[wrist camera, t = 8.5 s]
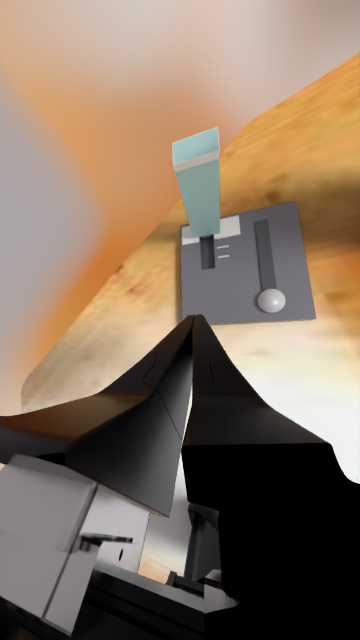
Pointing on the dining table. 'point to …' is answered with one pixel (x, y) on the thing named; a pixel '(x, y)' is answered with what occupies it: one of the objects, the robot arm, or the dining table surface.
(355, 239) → the dining table surface
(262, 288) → the console panel
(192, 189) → the fader tab
